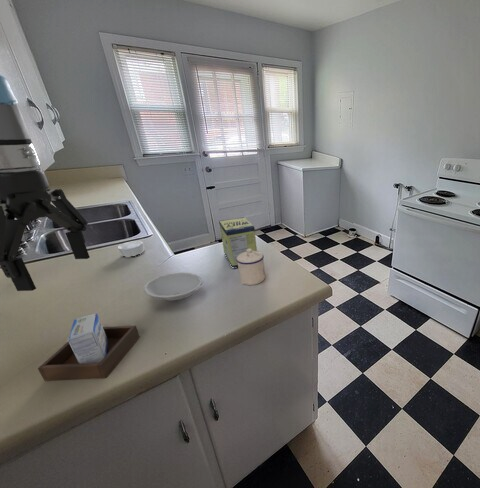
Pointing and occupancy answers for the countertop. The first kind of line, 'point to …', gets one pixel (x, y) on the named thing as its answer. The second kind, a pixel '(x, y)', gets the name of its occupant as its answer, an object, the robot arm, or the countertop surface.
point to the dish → (173, 286)
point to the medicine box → (88, 339)
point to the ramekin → (131, 248)
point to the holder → (68, 367)
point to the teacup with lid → (251, 267)
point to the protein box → (237, 238)
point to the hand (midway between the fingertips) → (58, 272)
